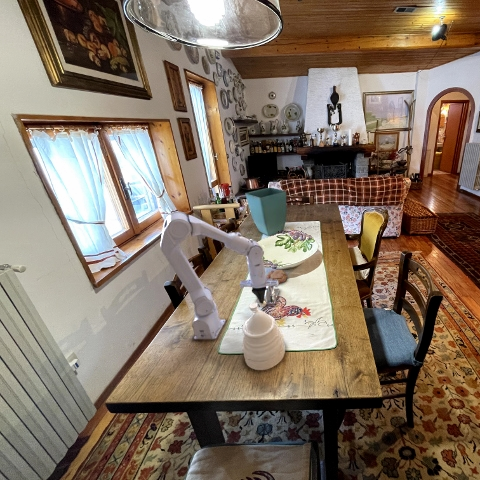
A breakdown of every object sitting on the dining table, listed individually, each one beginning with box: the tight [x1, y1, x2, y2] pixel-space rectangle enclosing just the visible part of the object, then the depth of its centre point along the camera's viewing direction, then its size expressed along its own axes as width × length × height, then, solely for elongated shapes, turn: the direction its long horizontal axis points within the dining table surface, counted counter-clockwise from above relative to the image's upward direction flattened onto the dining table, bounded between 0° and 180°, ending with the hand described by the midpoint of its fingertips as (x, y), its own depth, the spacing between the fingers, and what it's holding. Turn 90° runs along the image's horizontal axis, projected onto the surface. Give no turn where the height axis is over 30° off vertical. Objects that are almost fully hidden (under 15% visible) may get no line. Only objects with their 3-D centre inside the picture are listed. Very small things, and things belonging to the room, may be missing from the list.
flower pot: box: [244, 187, 288, 237], centre depth 173 cm, size 20×20×28 cm
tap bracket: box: [255, 286, 280, 306], centre depth 107 cm, size 10×8×7 cm
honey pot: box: [241, 302, 286, 371], centre depth 78 cm, size 13×13×18 cm
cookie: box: [266, 269, 288, 285], centre depth 122 cm, size 10×11×3 cm
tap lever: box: [259, 286, 269, 308], centre depth 104 cm, size 11×3×3 cm, turn 177°
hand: (262, 301), depth 100 cm, fingers closed
